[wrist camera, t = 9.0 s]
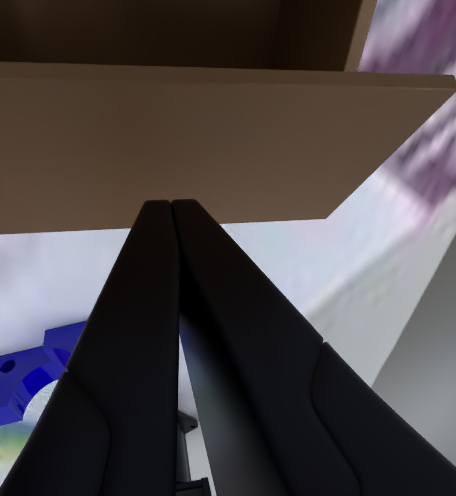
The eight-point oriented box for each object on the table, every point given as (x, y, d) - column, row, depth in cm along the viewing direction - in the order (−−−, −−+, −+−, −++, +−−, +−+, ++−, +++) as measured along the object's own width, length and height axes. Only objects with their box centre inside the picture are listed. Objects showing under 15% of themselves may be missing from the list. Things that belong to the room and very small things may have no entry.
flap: (324, 209, 16) (326, 219, 16) (-60, 225, 14) (-61, 237, 14) (454, 73, 10) (459, 89, 9) (-263, 52, 7) (-268, 73, 7)
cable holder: (104, 316, 29) (103, 367, 27) (119, 346, 32) (120, 395, 29) (-16, 344, 29) (-30, 399, 26) (9, 372, 31) (-2, 426, 28)
